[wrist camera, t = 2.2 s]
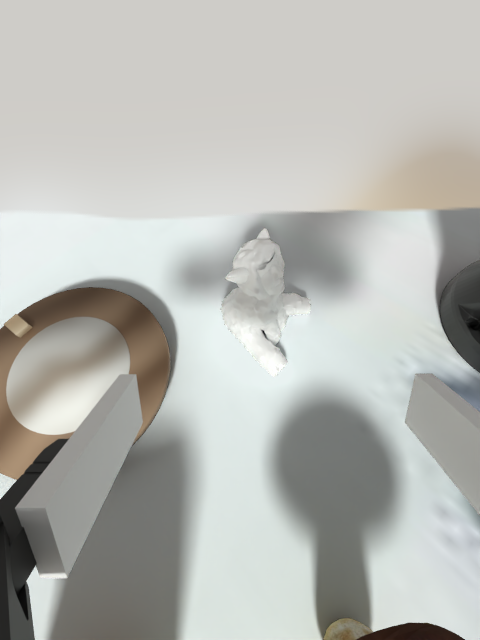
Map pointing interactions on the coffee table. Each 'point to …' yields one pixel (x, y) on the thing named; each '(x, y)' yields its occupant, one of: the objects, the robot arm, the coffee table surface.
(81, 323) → the turntable platter
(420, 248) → the coffee table surface
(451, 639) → the decorative mushroom
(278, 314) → the sitting furry creature
